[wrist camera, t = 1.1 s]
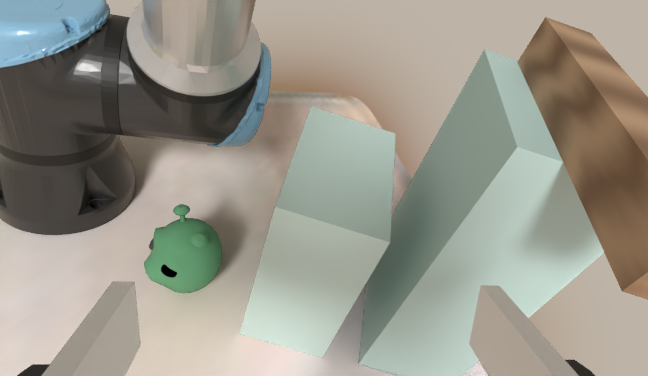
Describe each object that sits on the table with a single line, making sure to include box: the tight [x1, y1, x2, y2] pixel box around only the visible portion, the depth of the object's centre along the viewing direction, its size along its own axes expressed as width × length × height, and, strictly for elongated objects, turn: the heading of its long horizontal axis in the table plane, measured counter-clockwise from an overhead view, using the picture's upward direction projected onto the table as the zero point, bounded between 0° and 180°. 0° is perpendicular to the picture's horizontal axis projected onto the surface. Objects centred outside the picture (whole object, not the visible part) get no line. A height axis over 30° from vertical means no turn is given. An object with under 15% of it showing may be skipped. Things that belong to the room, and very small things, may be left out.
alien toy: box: [144, 204, 222, 293], centre depth 43 cm, size 7×8×10 cm
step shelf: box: [240, 49, 604, 376], centre depth 41 cm, size 16×23×30 cm
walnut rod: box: [517, 17, 648, 299], centre depth 26 cm, size 24×4×4 cm, turn 171°
